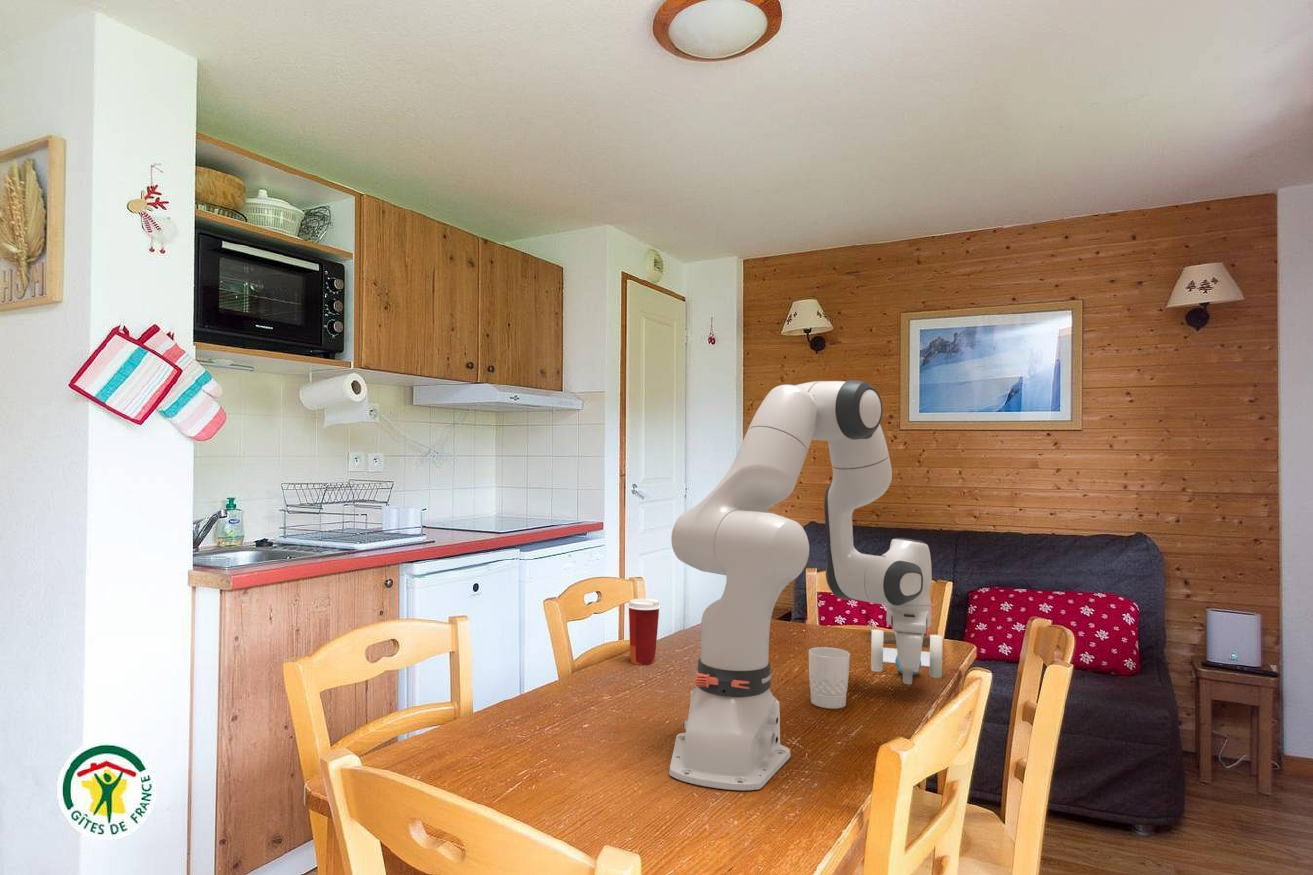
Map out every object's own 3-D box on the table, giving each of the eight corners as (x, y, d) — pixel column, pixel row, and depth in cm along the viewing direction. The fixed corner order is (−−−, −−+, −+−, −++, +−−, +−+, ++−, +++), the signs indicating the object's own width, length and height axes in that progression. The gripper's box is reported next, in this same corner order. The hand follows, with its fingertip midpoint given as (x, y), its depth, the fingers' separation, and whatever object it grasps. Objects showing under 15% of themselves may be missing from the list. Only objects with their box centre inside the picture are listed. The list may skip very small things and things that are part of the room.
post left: (882, 672, 170) (883, 632, 170) (870, 671, 171) (871, 631, 171) (882, 669, 173) (883, 630, 173) (871, 668, 173) (871, 628, 174)
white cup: (849, 711, 143) (850, 658, 143) (807, 707, 145) (808, 655, 145) (847, 698, 151) (848, 648, 151) (807, 695, 152) (808, 645, 152)
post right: (942, 678, 166) (942, 637, 167) (929, 677, 167) (930, 636, 167) (941, 675, 169) (942, 635, 169) (929, 674, 170) (929, 634, 170)
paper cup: (665, 661, 175) (667, 600, 175) (647, 668, 168) (649, 605, 169) (637, 655, 179) (639, 596, 179) (618, 662, 173) (620, 601, 173)
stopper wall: (940, 648, 194) (940, 638, 194) (868, 641, 199) (868, 631, 199) (940, 646, 196) (940, 636, 196) (868, 639, 201) (868, 630, 201)
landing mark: (936, 667, 175) (936, 666, 175) (874, 661, 180) (874, 660, 180) (933, 653, 189) (933, 652, 189) (875, 647, 193) (875, 646, 193)
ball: (921, 679, 169) (921, 673, 164) (895, 676, 170) (895, 671, 166) (920, 654, 171) (921, 648, 167) (895, 652, 173) (895, 646, 169)
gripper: (892, 605, 169) (891, 667, 168) (892, 624, 149) (891, 694, 149) (922, 607, 167) (921, 670, 166) (926, 627, 147) (925, 698, 147)
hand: (907, 682), depth 157 cm, fingers closed
